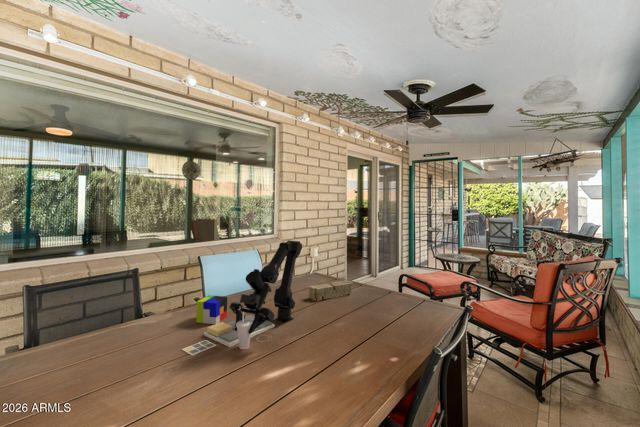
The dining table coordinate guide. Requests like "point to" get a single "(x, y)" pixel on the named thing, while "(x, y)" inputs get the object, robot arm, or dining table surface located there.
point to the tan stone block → (330, 290)
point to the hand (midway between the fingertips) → (242, 331)
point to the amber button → (219, 329)
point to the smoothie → (243, 333)
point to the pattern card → (198, 347)
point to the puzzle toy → (211, 309)
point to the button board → (232, 336)
